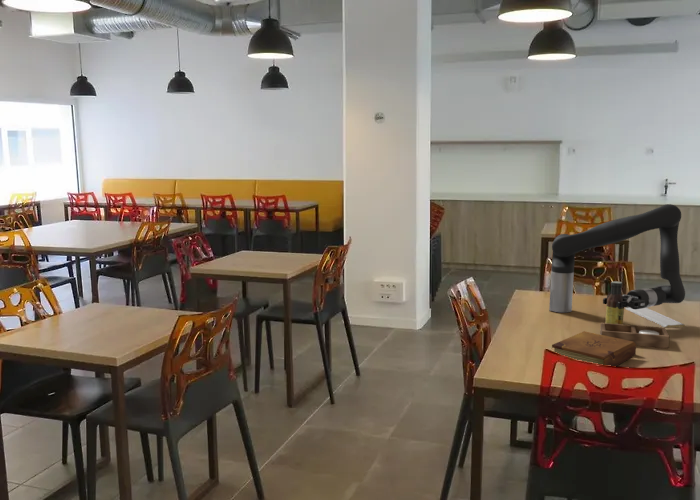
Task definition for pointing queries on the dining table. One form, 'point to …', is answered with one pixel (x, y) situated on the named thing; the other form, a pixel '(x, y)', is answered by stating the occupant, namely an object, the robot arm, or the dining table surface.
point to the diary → (596, 348)
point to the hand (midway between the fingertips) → (611, 303)
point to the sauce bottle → (614, 304)
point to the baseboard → (656, 317)
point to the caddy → (636, 334)
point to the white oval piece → (648, 332)
